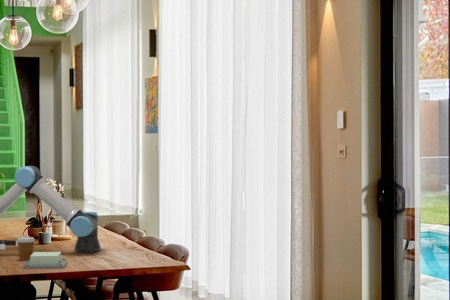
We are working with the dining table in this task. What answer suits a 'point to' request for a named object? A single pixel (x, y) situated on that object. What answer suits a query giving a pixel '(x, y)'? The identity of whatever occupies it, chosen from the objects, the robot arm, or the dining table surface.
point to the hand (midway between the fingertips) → (14, 245)
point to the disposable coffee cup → (25, 247)
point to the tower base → (61, 265)
